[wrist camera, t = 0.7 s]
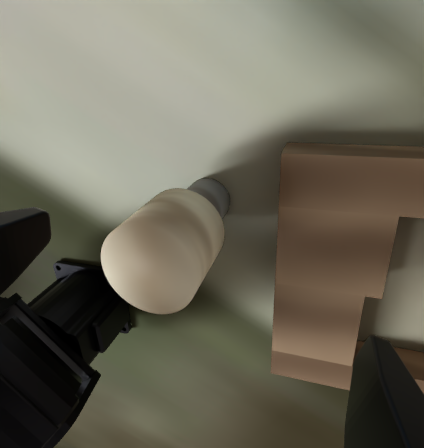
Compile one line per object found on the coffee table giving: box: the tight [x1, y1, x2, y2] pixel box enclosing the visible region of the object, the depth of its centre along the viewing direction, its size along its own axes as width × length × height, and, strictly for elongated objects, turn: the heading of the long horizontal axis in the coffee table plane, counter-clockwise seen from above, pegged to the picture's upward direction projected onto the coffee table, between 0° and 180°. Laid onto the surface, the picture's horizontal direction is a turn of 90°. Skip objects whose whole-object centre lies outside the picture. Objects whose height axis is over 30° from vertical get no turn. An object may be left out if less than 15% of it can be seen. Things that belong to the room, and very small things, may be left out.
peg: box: [101, 178, 230, 314], centre depth 20 cm, size 5×5×9 cm
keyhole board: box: [271, 143, 424, 393], centre depth 21 cm, size 16×16×2 cm
